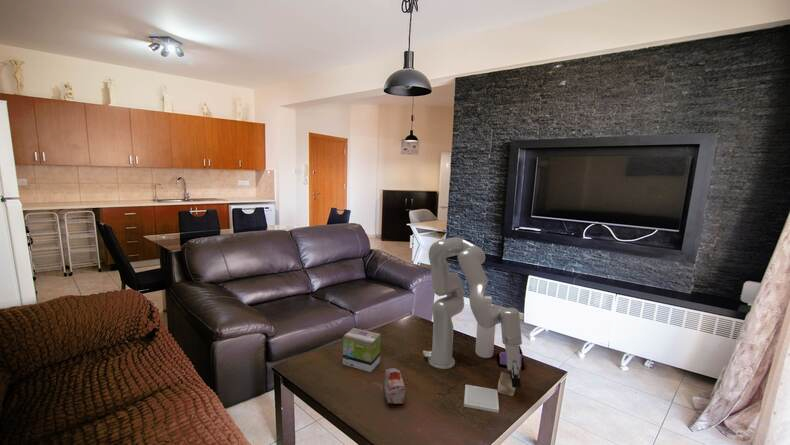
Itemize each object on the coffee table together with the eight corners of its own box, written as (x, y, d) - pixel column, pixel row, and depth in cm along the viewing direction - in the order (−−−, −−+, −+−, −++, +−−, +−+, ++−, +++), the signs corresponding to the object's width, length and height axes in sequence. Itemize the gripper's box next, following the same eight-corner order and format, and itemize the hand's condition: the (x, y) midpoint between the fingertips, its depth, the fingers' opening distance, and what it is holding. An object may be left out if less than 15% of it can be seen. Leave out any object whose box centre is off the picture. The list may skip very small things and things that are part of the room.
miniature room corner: (525, 370, 162) (526, 356, 161) (498, 366, 164) (499, 353, 163) (520, 357, 174) (521, 344, 173) (496, 354, 176) (497, 341, 175)
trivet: (463, 406, 134) (464, 403, 134) (465, 387, 147) (465, 384, 146) (498, 412, 131) (499, 409, 131) (497, 392, 144) (497, 389, 143)
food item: (406, 405, 133) (407, 382, 132) (386, 407, 132) (387, 383, 131) (399, 385, 147) (400, 363, 146) (381, 386, 145) (381, 364, 144)
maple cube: (501, 371, 148) (497, 384, 149) (501, 379, 142) (497, 392, 143) (515, 376, 146) (512, 389, 147) (516, 384, 141) (512, 397, 142)
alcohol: (471, 352, 176) (475, 296, 172) (482, 348, 181) (486, 292, 177) (485, 360, 169) (489, 301, 165) (496, 355, 174) (501, 297, 170)
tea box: (342, 365, 160) (342, 335, 158) (352, 355, 170) (353, 326, 168) (371, 373, 155) (372, 342, 153) (380, 362, 164) (381, 332, 162)
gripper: (500, 332, 150) (504, 373, 150) (503, 347, 133) (507, 393, 133) (519, 332, 148) (522, 373, 148) (524, 347, 131) (528, 394, 132)
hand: (515, 382), depth 141 cm, fingers open, 5 cm apart
